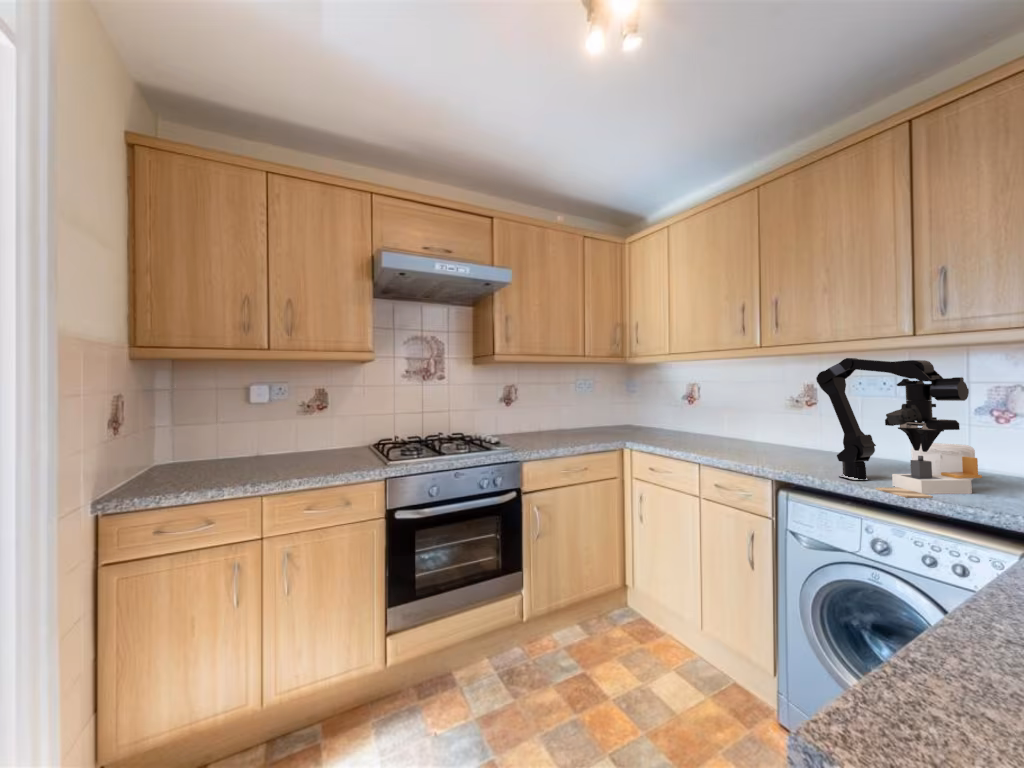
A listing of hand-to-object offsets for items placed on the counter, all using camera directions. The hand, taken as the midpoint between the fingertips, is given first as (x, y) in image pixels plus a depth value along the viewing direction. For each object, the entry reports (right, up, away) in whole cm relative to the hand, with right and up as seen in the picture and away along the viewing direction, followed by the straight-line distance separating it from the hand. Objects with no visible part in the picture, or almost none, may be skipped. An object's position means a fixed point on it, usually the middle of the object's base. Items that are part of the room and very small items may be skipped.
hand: (920, 451), depth 128 cm
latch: (+12, -8, -1) cm, 14 cm away
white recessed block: (+3, -12, 0) cm, 12 cm away
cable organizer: (+23, -12, +15) cm, 31 cm away
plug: (0, -9, 0) cm, 9 cm away
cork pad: (-9, -12, -4) cm, 16 cm away
